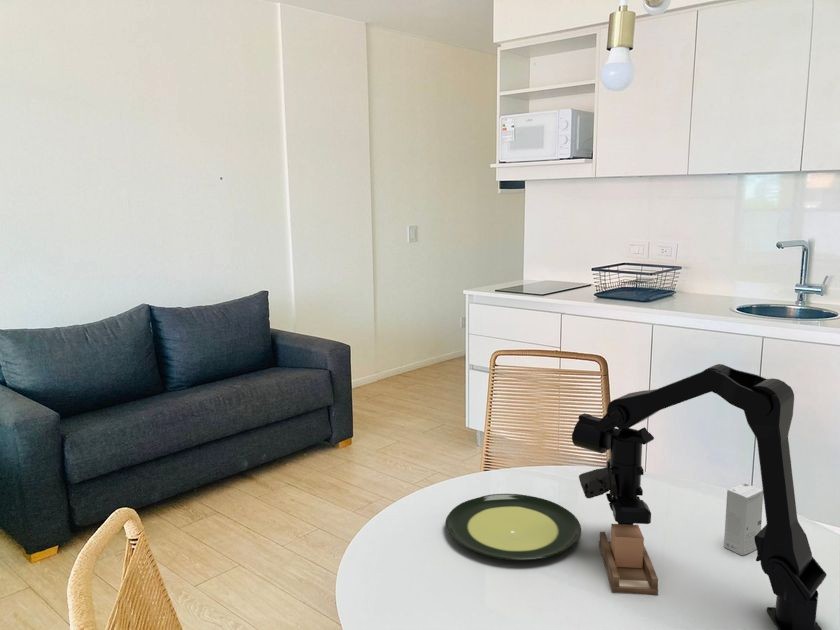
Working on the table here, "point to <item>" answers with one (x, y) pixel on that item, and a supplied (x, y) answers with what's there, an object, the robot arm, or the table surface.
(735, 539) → the skincare box
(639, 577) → the chute
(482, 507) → the plate
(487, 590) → the table surface
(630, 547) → the block
